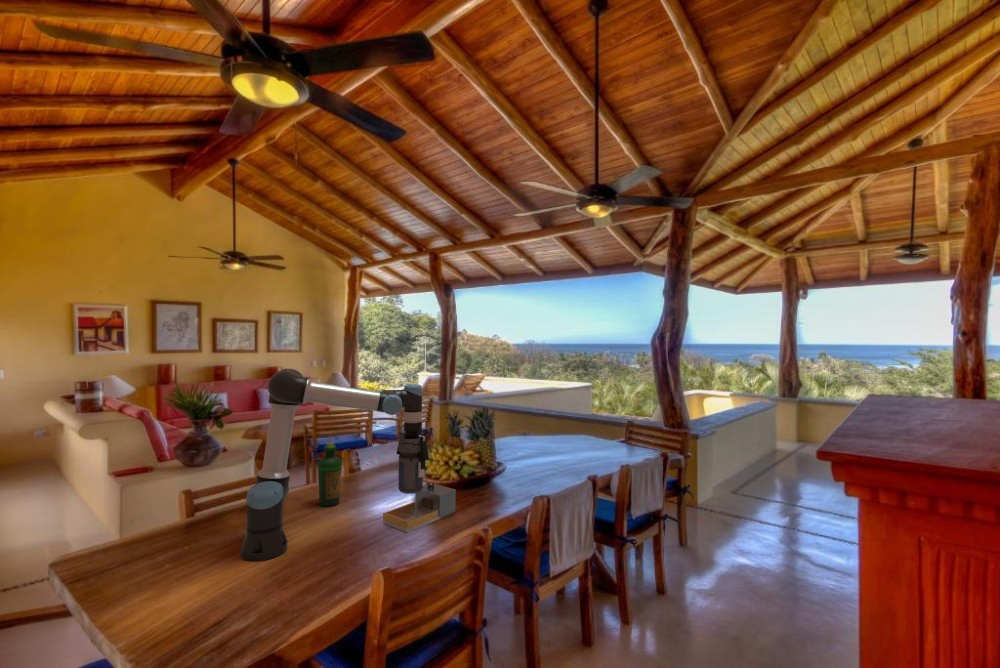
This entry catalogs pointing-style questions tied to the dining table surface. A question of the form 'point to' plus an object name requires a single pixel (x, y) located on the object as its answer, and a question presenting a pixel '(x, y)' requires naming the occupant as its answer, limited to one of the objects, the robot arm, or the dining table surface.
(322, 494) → the bottle
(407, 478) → the beverage bottle
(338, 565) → the dining table surface
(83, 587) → the dining table surface
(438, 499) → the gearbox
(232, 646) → the dining table surface
